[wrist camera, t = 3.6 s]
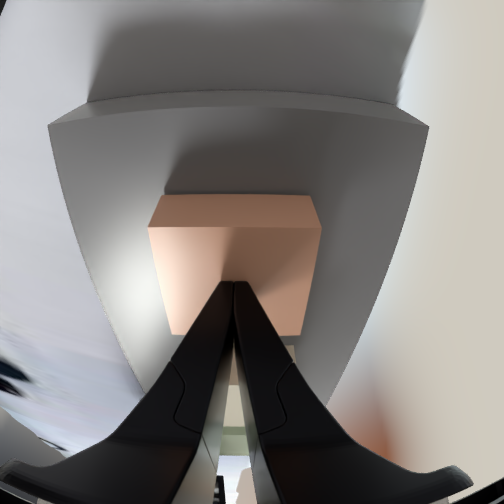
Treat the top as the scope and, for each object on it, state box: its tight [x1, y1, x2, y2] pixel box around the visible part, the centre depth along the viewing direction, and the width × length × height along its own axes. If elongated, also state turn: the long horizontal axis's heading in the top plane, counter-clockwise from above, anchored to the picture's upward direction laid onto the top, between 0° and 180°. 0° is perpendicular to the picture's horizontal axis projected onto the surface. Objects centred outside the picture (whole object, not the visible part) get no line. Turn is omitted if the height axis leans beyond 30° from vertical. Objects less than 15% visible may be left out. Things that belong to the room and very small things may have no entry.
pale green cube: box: [219, 426, 249, 456], centre depth 18 cm, size 5×5×5 cm
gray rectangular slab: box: [48, 90, 429, 407], centre depth 16 cm, size 22×12×3 cm, turn 179°
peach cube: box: [147, 194, 322, 336], centre depth 11 cm, size 5×5×5 cm
